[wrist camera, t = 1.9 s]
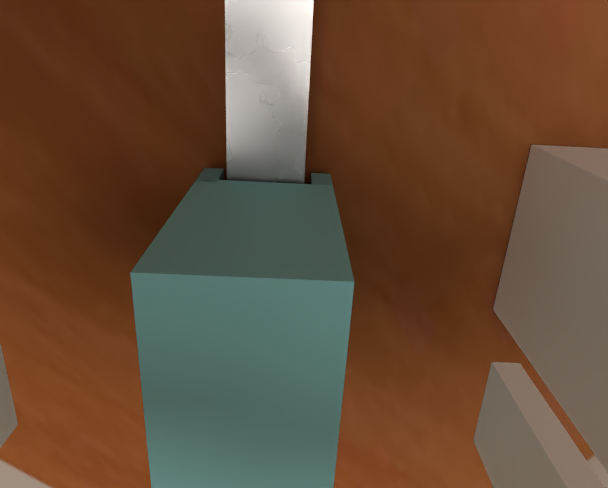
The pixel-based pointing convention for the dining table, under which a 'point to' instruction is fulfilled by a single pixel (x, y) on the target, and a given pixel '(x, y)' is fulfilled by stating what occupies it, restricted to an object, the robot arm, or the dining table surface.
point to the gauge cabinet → (563, 282)
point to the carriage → (245, 335)
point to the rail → (267, 88)
